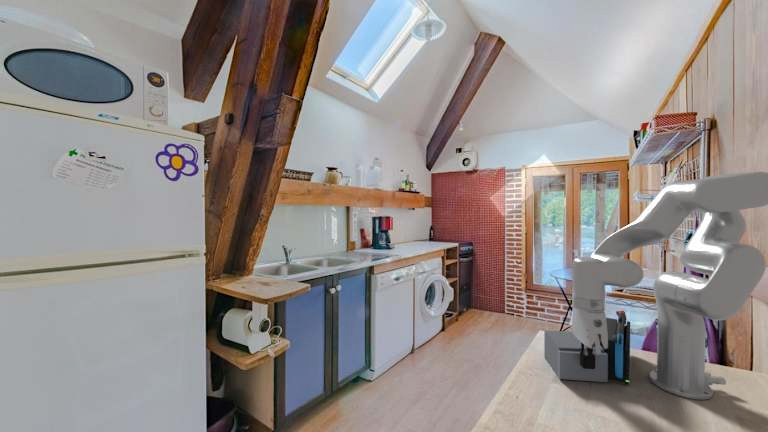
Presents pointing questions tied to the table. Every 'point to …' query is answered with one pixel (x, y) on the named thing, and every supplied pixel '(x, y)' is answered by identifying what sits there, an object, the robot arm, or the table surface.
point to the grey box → (559, 346)
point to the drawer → (574, 371)
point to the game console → (618, 348)
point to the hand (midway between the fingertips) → (587, 367)
